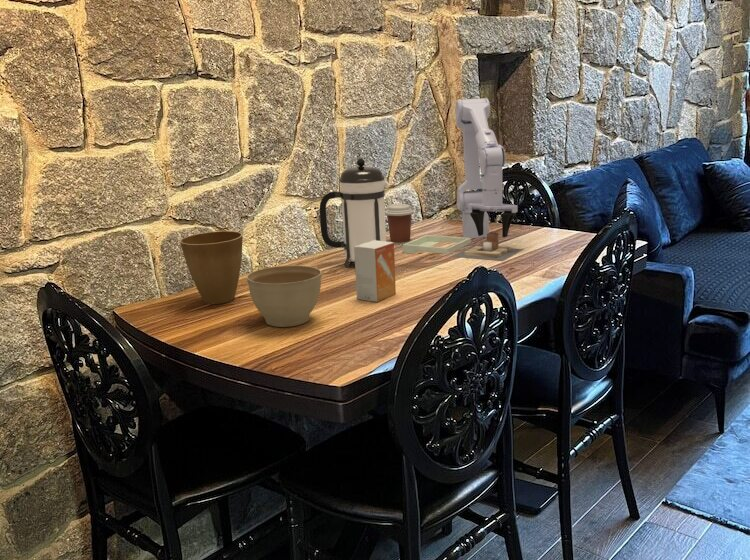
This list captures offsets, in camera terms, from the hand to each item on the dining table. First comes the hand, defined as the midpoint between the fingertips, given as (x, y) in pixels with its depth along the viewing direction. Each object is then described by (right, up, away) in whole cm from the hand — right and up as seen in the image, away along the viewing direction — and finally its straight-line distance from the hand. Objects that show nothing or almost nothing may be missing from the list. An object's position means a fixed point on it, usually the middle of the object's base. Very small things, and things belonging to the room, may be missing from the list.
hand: (492, 235), depth 210 cm
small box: (-34, -17, -36) cm, 53 cm away
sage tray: (-15, -3, +10) cm, 19 cm away
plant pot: (-73, -18, -32) cm, 82 cm away
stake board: (-2, -6, -2) cm, 6 cm away
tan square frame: (-2, -5, -2) cm, 6 cm away
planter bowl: (-54, -22, -52) cm, 78 cm away
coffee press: (-38, -8, -3) cm, 39 cm away
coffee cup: (-26, -1, +23) cm, 35 cm away
